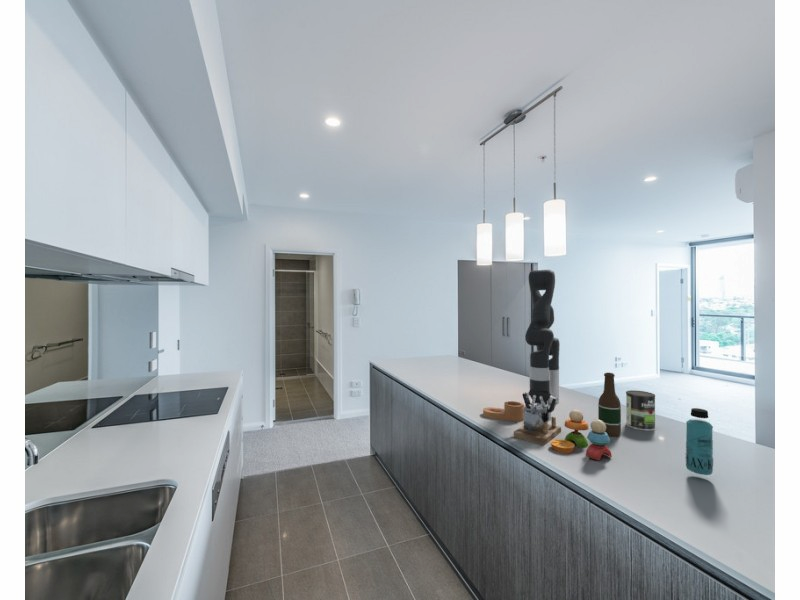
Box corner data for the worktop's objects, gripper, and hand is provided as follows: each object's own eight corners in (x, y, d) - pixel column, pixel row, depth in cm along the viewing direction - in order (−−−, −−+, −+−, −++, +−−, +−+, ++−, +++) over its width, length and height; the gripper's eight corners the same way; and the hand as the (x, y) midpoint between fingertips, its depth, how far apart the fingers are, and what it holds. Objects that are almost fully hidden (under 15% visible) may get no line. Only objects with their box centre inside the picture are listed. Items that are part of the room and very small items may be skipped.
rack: (531, 425, 155) (531, 410, 155) (561, 431, 147) (561, 416, 147) (513, 436, 141) (513, 421, 141) (544, 444, 133) (544, 428, 133)
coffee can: (661, 430, 148) (661, 395, 149) (640, 432, 146) (640, 397, 146) (640, 421, 159) (640, 389, 159) (620, 423, 156) (620, 390, 157)
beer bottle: (619, 431, 147) (619, 372, 147) (622, 438, 140) (621, 375, 140) (597, 428, 150) (597, 370, 150) (599, 434, 143) (598, 374, 143)
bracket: (525, 417, 165) (525, 402, 165) (521, 423, 158) (521, 407, 158) (485, 412, 174) (485, 397, 174) (481, 417, 166) (480, 402, 166)
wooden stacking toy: (542, 446, 133) (542, 412, 133) (573, 438, 141) (573, 405, 141) (588, 466, 117) (588, 427, 117) (620, 455, 125) (620, 419, 125)
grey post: (538, 417, 153) (538, 403, 153) (553, 420, 149) (553, 405, 149) (521, 428, 140) (521, 413, 140) (536, 432, 136) (536, 416, 136)
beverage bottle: (680, 470, 113) (679, 406, 113) (699, 469, 114) (699, 405, 114) (699, 481, 106) (698, 412, 107) (719, 480, 107) (719, 412, 107)
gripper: (561, 378, 144) (561, 422, 144) (526, 374, 153) (526, 414, 153) (554, 382, 138) (554, 427, 138) (518, 377, 148) (518, 419, 148)
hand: (539, 420), depth 146 cm, fingers closed on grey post, 4 cm apart
